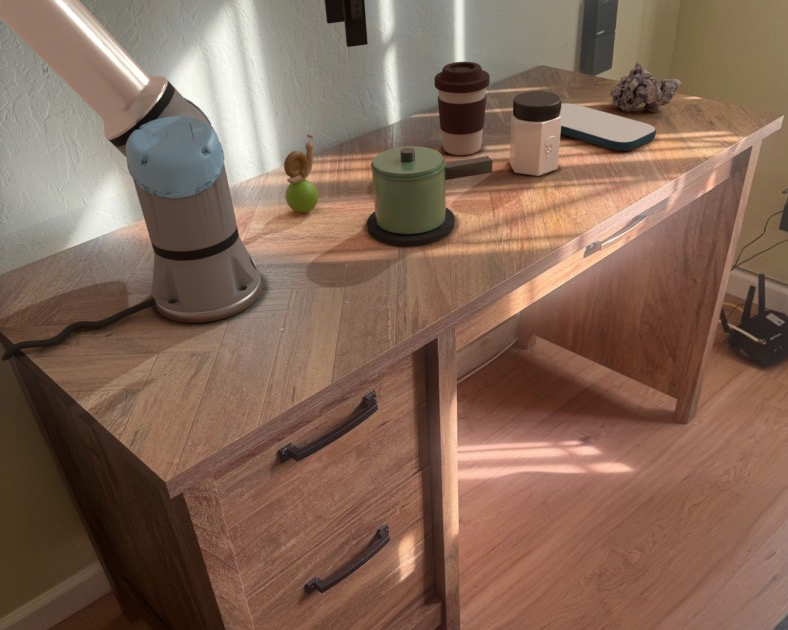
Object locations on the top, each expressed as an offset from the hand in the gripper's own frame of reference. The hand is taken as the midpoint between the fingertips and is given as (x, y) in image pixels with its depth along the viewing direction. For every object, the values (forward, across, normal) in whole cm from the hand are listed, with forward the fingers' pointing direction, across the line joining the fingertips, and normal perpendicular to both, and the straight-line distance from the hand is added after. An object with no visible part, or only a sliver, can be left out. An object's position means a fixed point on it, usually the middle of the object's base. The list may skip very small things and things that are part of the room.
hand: (346, 33), depth 106 cm
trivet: (+29, -4, -7) cm, 30 cm away
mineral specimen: (+29, +29, -65) cm, 77 cm away
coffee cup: (+29, +23, -25) cm, 45 cm away
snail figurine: (+29, +8, +8) cm, 31 cm away
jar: (+29, +10, -34) cm, 46 cm away
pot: (+27, -4, -11) cm, 30 cm away
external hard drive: (+29, +21, -51) cm, 62 cm away
